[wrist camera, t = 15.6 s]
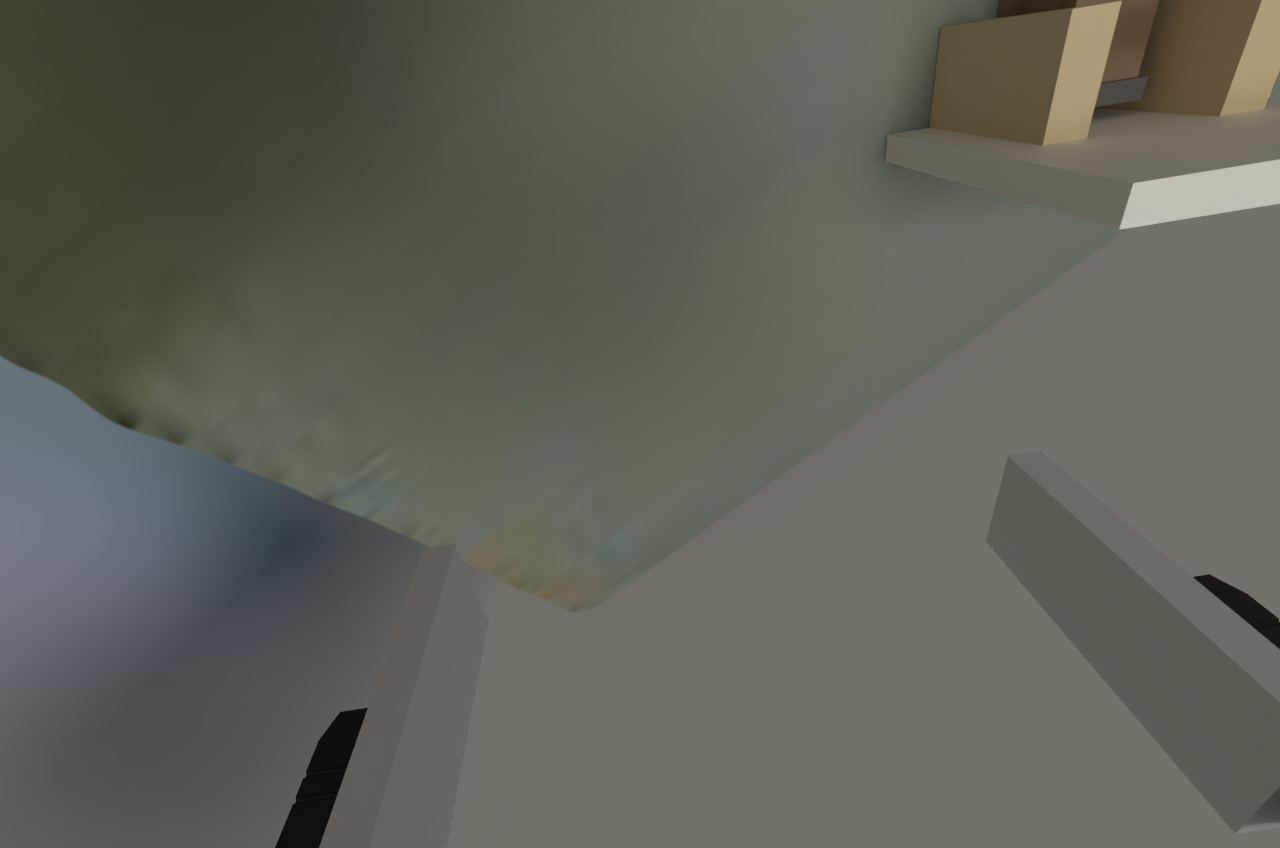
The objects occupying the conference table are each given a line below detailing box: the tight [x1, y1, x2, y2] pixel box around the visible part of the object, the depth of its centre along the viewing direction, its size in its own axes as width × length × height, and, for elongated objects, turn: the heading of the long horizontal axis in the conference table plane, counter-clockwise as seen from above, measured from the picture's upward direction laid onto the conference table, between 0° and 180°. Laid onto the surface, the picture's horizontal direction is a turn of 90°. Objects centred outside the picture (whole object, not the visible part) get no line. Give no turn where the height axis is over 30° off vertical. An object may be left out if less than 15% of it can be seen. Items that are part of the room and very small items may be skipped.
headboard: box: [885, 0, 1280, 230], centre depth 25 cm, size 6×15×18 cm, turn 98°
